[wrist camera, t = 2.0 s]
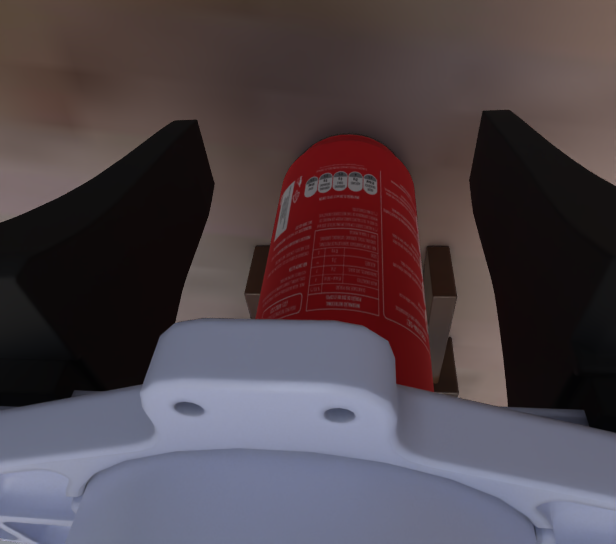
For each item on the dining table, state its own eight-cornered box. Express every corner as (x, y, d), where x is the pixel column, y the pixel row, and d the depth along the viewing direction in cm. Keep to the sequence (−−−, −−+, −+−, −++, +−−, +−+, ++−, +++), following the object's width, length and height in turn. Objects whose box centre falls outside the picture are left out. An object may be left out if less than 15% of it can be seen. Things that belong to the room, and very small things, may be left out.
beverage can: (432, 140, 18) (482, 459, 10) (389, 238, 22) (399, 526, 14) (297, 110, 18) (234, 417, 10) (276, 214, 22) (219, 498, 13)
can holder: (448, 349, 28) (456, 405, 25) (260, 344, 29) (250, 396, 27) (472, 246, 22) (484, 306, 20) (234, 245, 23) (218, 302, 21)
